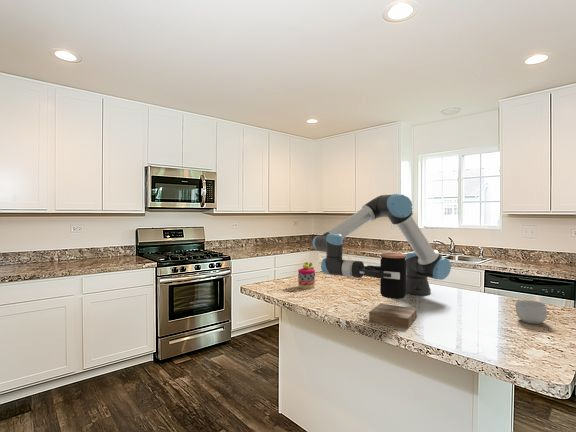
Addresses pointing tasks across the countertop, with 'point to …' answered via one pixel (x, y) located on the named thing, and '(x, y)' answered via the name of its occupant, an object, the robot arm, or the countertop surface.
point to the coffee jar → (393, 286)
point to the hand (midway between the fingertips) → (403, 273)
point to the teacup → (531, 311)
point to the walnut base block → (393, 315)
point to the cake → (306, 277)
